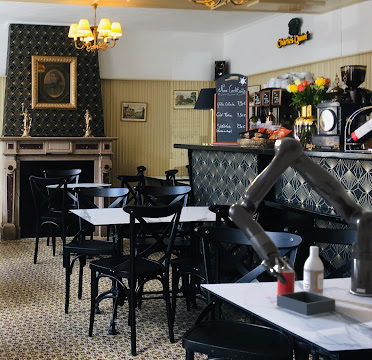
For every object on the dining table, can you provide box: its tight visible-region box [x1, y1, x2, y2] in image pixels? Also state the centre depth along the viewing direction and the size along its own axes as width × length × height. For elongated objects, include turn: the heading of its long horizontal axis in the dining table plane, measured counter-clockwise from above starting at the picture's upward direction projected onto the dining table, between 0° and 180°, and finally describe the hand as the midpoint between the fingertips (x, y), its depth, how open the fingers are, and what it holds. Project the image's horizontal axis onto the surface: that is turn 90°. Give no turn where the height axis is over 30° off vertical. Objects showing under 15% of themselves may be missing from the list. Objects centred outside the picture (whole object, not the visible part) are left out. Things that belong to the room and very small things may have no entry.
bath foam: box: [303, 245, 325, 296], centre depth 230 cm, size 7×7×20 cm
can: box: [276, 268, 296, 296], centre depth 225 cm, size 6×6×10 cm
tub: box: [276, 290, 336, 316], centre depth 213 cm, size 14×14×5 cm
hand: (290, 281), depth 223 cm, fingers closed on can, 6 cm apart
